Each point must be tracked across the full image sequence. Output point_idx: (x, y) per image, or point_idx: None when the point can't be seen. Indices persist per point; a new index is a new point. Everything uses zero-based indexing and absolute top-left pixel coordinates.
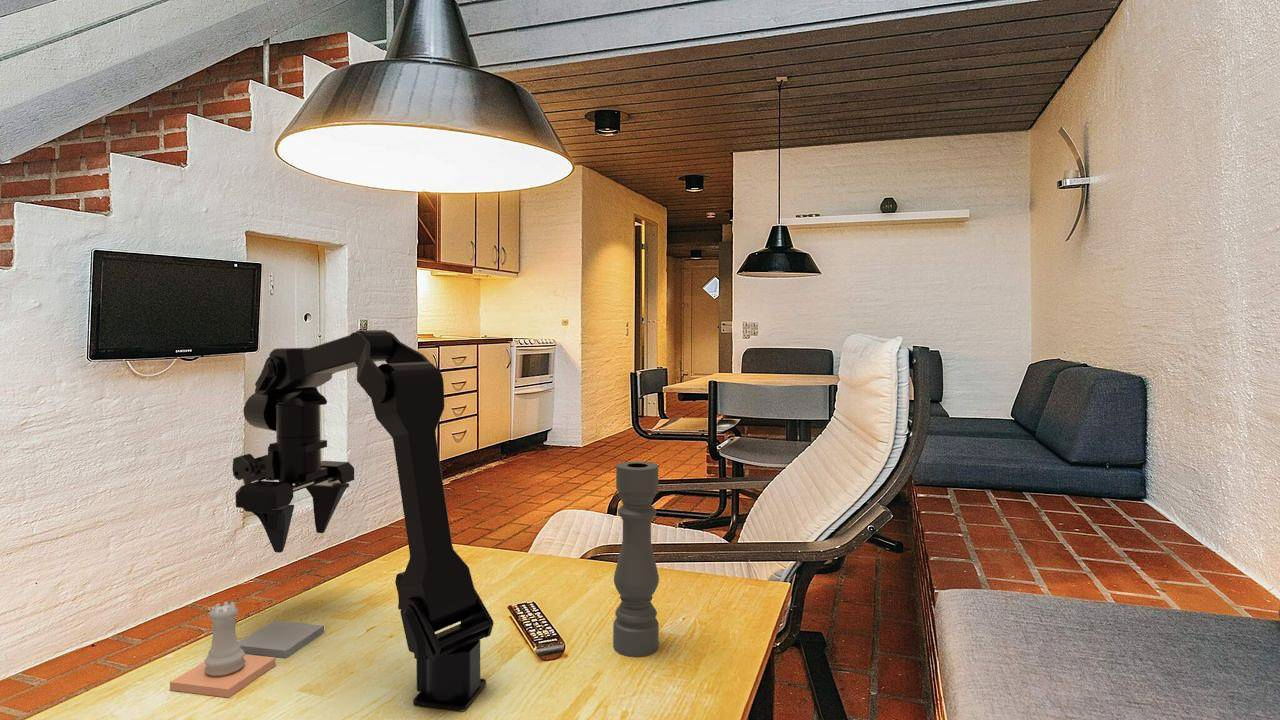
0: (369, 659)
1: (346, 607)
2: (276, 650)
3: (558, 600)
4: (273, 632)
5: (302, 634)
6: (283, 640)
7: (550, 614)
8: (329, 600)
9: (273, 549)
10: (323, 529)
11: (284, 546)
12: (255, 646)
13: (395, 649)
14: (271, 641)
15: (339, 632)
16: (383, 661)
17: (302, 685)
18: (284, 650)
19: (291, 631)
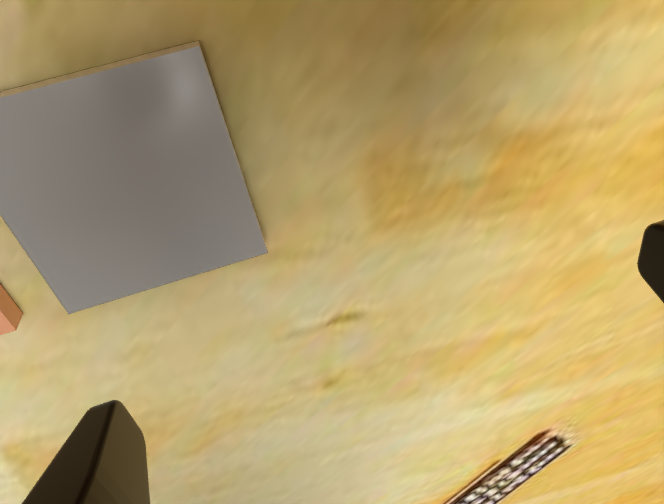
0: (210, 435)
1: (450, 136)
2: (50, 284)
3: (581, 466)
4: (122, 156)
5: (179, 255)
6: (107, 245)
7: (519, 493)
8: (492, 16)
9: (79, 422)
10: (659, 297)
11: (147, 491)
12: (3, 210)
13: (278, 434)
14: (71, 221)
15: (286, 274)
16: (221, 457)
17: (21, 438)
18: (65, 309)
19: (171, 205)
